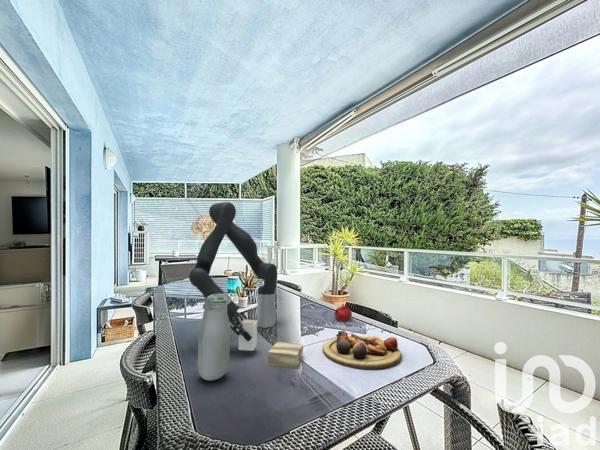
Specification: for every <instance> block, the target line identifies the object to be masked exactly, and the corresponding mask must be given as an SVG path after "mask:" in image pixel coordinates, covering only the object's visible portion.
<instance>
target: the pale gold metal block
mask: <svg viewBox="0 0 600 450" xmlns="http://www.w3.org/2000/svg"><path fill="white" fill-rule="evenodd" d="M303 355H304V344H301V343H292V342H291V343H290V342H283V341H282V342H281V341H276V342H274V345H273V346H272V347H271V348H270V349H269V351H267V365H268V366H273V367H281V368H289V369H297V368H298V366H299V364H300V363H301V360H302V359H303Z"/></svg>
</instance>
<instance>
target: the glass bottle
mask: <svg viewBox="0 0 600 450" xmlns="http://www.w3.org/2000/svg"><path fill="white" fill-rule="evenodd" d="M231 331H232V329H231V328H230V323H229V318H228V314H227V299H226V297H225V296H224V295H223V294H212V295H210V296H208V297H207V298H206V299H205V301H204V309H203V314H202V318H201V321H200V323H199V328H198V336H197V337H198V338H197V371H198V374H199V376H200V377H201V379H202V380H205V381H208V382H209V381H210V382H211V381H216V380H218V379H221V378H222V377H223V376H224V375H225V374H226V372H227V370H228V368H229V364H230V351H231V350H230V348H231V347H230V346H231V336H232V335H231Z"/></svg>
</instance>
